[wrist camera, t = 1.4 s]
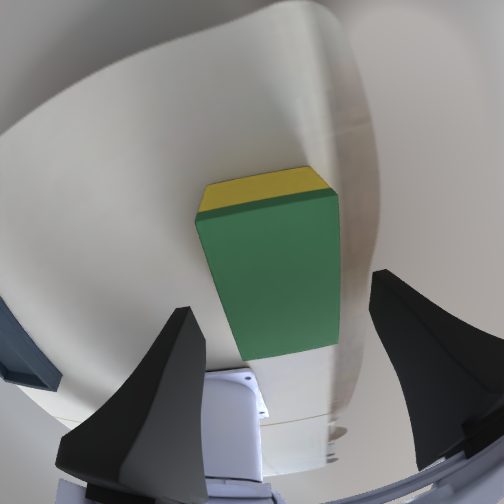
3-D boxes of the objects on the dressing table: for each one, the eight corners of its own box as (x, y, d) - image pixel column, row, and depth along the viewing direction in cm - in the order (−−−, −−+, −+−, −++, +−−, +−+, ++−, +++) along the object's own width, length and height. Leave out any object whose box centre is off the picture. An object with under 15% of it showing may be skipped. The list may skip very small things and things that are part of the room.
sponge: (321, 294, 17) (338, 343, 13) (241, 309, 17) (242, 361, 14) (310, 165, 12) (338, 194, 9) (205, 185, 13) (193, 221, 9)
